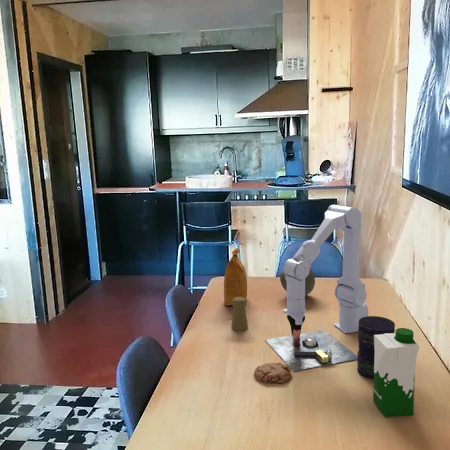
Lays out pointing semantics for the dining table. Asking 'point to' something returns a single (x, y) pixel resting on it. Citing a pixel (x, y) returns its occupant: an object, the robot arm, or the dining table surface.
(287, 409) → the dining table surface
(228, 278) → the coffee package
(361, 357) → the storage jar
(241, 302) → the olive green shaker
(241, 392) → the dining table surface
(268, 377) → the cookie
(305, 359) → the post base
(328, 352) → the dowel pin
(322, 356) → the metal parts fixture
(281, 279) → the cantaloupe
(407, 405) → the milk carton
